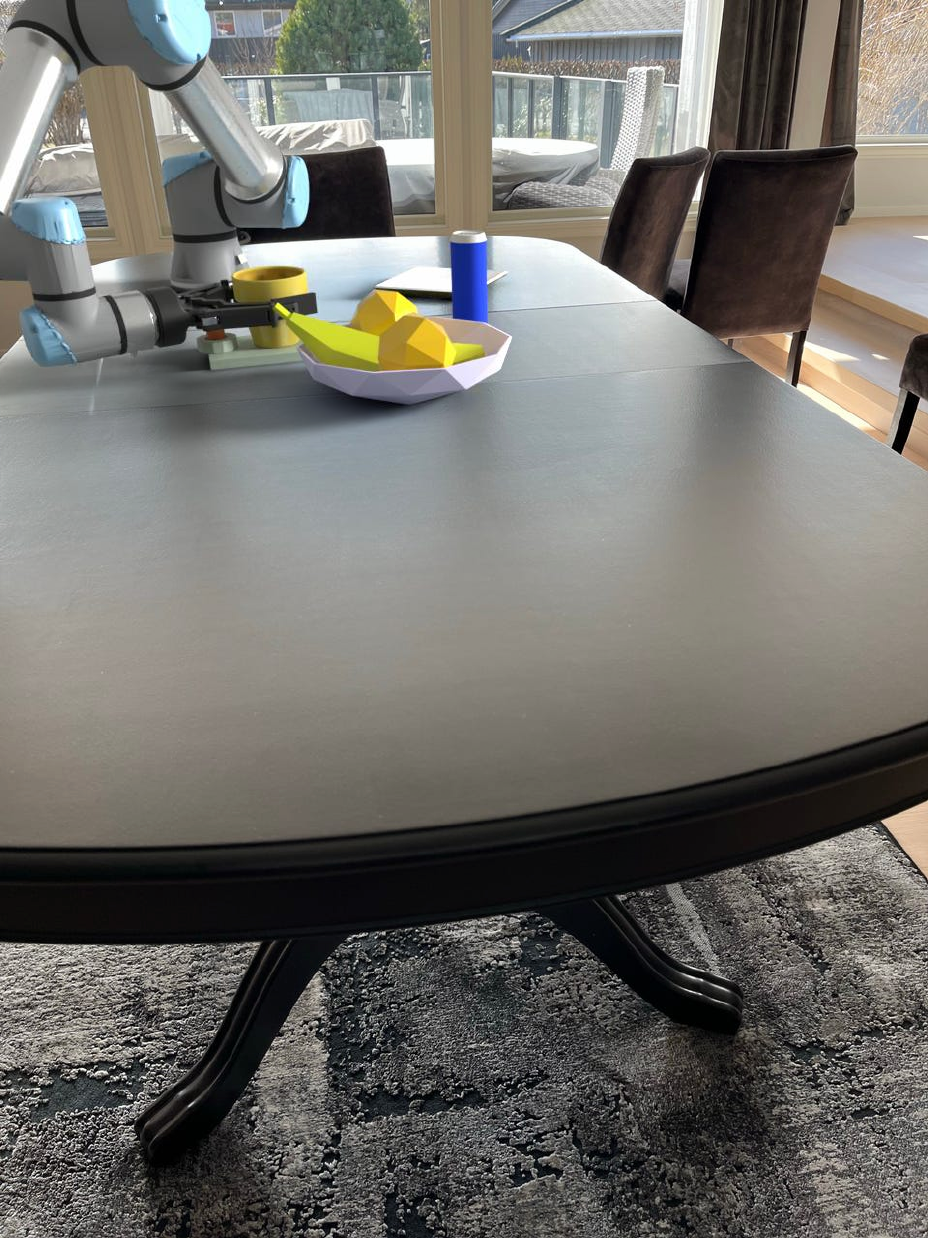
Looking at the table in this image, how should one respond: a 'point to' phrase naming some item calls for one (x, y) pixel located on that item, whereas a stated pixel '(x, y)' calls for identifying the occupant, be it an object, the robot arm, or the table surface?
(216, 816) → the table surface
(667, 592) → the table surface
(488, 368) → the fruit bowl
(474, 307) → the beverage can
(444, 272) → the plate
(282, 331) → the flower pot
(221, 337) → the button
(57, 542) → the table surface
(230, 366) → the pale green flat block
